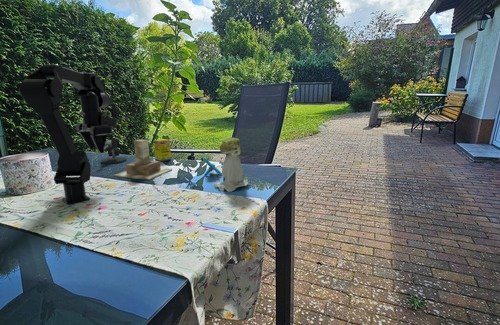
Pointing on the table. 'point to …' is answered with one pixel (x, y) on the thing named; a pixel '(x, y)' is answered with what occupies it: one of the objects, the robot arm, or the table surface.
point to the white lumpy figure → (231, 166)
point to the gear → (211, 168)
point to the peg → (142, 152)
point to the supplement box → (162, 150)
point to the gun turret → (112, 153)
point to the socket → (143, 171)
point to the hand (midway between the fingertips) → (96, 150)
